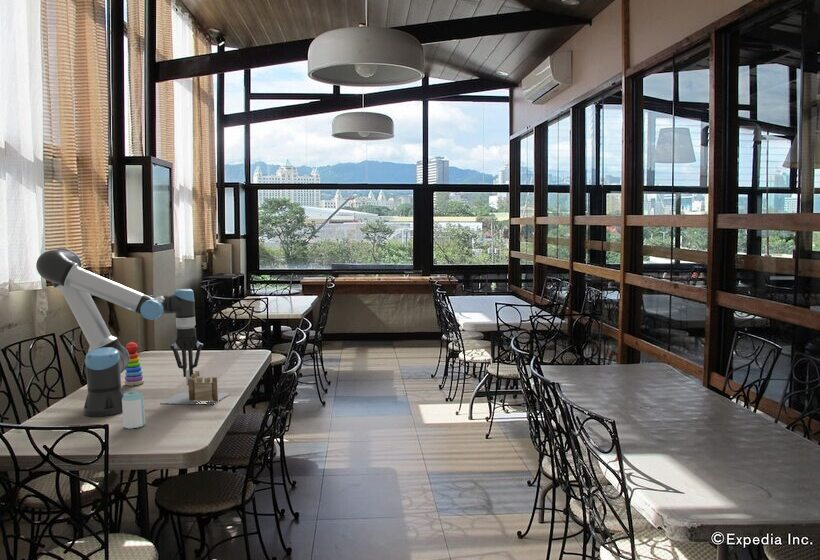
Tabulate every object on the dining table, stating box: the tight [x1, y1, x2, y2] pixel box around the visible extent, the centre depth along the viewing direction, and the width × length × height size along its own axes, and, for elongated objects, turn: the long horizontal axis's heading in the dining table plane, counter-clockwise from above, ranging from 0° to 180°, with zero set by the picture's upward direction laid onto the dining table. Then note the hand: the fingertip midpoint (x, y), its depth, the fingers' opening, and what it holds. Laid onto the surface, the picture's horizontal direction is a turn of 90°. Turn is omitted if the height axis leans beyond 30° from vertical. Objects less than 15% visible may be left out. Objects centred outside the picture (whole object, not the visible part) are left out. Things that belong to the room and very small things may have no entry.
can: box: [122, 390, 146, 430], centre depth 234 cm, size 7×7×12 cm
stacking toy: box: [124, 341, 145, 387], centre depth 296 cm, size 8×8×19 cm
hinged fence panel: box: [191, 370, 201, 382], centre depth 272 cm, size 2×9×9 cm, turn 5°
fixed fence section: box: [187, 376, 219, 401], centre depth 265 cm, size 2×12×10 cm, turn 81°
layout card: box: [160, 392, 231, 406], centre depth 269 cm, size 16×22×1 cm
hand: (188, 384), depth 273 cm, fingers closed
